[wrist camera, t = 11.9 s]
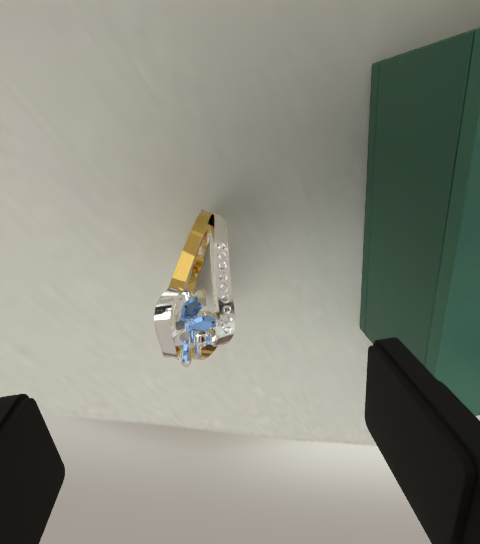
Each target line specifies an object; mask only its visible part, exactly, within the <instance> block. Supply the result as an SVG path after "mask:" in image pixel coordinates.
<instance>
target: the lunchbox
mask: <svg viewBox="0 0 480 544" xmlns="http://www.w3.org/2000/svg"><path fill="white" fill-rule="evenodd" d="M475 31H476V29H474V30H471V31H468V32H465V33H462V34H459V35H456V36H453V37H450V38H447V39H444V40H441V41H439V42H436V43H433V44H430V45H427V46H424V47H421V48H418V49H415V50H412V51H409V52H406V53H403V54H400V55H397V56H394V57H391V58H388V59H385V60H382V61H380V62H377V63H374V64H373V65H372V80H371V101H370V122H369V144H368V165H367V186H366V207H365V229H364V250H363V271H362V292H361V314H360V328H361V330H362V331H363V332H364V333H365V335H366V336H367V337H368V338H369V340H370V341H371V342H372V343H373V344H374V341H375V340H378V339H385V338H391V337H396V338H398V339H399V340H400V341H401V342H402V343H403V344H404V345H405V346H406V347H407V348H408V349H409V350H410V351H411V352H412V354H413V355H414V356H415V357H416V358H417V359H418V360H419V361H420V362H421V363H422V364H423V365H424V366H425V364H426V358H427V351H428V344H429V338H430V331H431V324H432V318H433V311H434V304H435V298H436V291H437V284H438V278H439V271H440V264H441V257H442V251H443V244H444V237H445V231H446V224H447V217H448V211H449V204H450V197H451V191H452V184H453V177H454V171H455V164H456V157H457V151H458V144H459V137H460V131H461V124H462V117H463V111H464V104H465V97H466V91H467V84H468V77H469V71H470V64H471V57H472V51H473V44H474V37H475Z"/></svg>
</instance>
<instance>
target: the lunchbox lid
mask: <svg viewBox="0 0 480 544" xmlns="http://www.w3.org/2000/svg"><path fill="white" fill-rule="evenodd" d="M425 367H426V368H427V369H428V371H429V372H430V373H431V374H432V375H433V376H434V377H435V378H436V379H437V380H439V381H441V382H442V383H443V384H445V385H446V386H447V387H448V388H449V389H450V390H451V391H452V393H453V394H454V395H455V396H456V397H457V398H458V399H459V400H460V401H461V402H462V403H463V404H464V405H465V406H466V407H467V408H468V409H469V410H470V411H471V412H472V413H473V414H474V416H478V415H480V28H478V29H476V31H475V37H474V44H473V51H472V57H471V64H470V71H469V77H468V84H467V91H466V97H465V104H464V111H463V117H462V124H461V131H460V137H459V144H458V151H457V157H456V164H455V171H454V177H453V184H452V191H451V197H450V204H449V211H448V217H447V224H446V231H445V237H444V244H443V251H442V257H441V264H440V271H439V278H438V284H437V291H436V298H435V304H434V311H433V318H432V324H431V331H430V338H429V344H428V351H427V358H426V364H425Z"/></svg>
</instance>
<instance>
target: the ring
mask: <svg viewBox="0 0 480 544" xmlns="http://www.w3.org/2000/svg"><path fill="white" fill-rule="evenodd" d="M209 240H210V261H211V275H212V285H213V293H214V300H215V308H216V312H215V311H214V313H212V312H210V311H201V308H202V306H206V290H199V291H197V293H195V294H194V289H195V284H196V280H197V276H198V272H199V270H201V268H202V265H203V262H204V258H205V257H204V254H205V251H206V248H207V246H208V243H209ZM175 303H176V305H175ZM174 306H175V310H174ZM173 311H174V315H173ZM154 322H155V329H156V334H157V337H158V340H159V343H160V346H161V349H162V352H163V355H164V357H165V358H171V359H177V360H179V356H180V353H181V364H182V365H183V366H185V367H188V366H189V365H190V363H191V359H197V360H203V359H206V358H207V357H209V356H210V355H211V354H212V353H213V351H214V350H215V349H216V348H217V346H219V345H224V344H226V343H228V342H229V341H230V340H231V338H232V336H233V334H234V329H235V313H234V304H233V296H232V287H231V276H230V264H229V251H228V238H227V227H226V220H225V218H224V217H223V216H220V215H218V214H215V213H211V212H208V211H205V210H201V212H200V214H199V215H198V217H197V219H196V221H195V223H194V226H193V228H192V230H191V232H190V234H189V237H188V239H187V241H186V244H185V246H184V249H183V251H182V254H181V256H180V259H179V261H178V264H177V267H176V269H175V272H174V275H173V277H172V280H171V283H170V286H169V288H168V290H166V291H165V292H164V293H163V294H162V295H161V297H160V298H159V300H158V303H157V305H156V309H155V315H154ZM213 326H215V331H214V330H213V329H212V327H213ZM181 350H182V352H181Z"/></svg>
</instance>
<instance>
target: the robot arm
mask: <svg viewBox="0 0 480 544" xmlns="http://www.w3.org/2000/svg"><path fill="white" fill-rule="evenodd" d="M365 421H366V425H367V428H368V430H369V432H370V433H371V435H372V437H373V439H374V441H375V442H376V444H377V446H378V448H379V450H380V451H381V453H382V455H383V457H384V458H385V460H386V462H387V464H388V466H389V467H390V469H391V471H392V473H393V475H394V476H395V478H396V480H397V482H398V484H399V485H400V487H401V489H402V491H403V493H404V494H405V496H406V498H407V500H408V501H409V503H410V505H411V507H412V509H413V510H414V512H415V514H416V516H417V518H418V520H419V521H420V523H421V525H422V527H423V528H424V530H425V532H426V534H427V535H428V537H429V539H430V541H431V543H432V544H480V421H479V420H478V419H477V418H476V417H475V416H474V414H473V413H472V412H471V411H470V410H469V409H468V408H467V407H466V406H465V405H464V404H463V403H462V402H461V401H460V400H459V399H458V398H457V397H456V396H455V395H454V394H453V393H452V391H451V390H450V389H449V388H448V387H447V386H446V385H445V384H443V383H442V382H441V381H439V380H437V379H436V378H435V377H434V376H433V375H432V374H431V373H430V372H429V371H428V369H427V368H426V367H425V366H424V365H423V364H422V363H421V362H420V361H419V360H418V359H417V358H416V357H415V356H414V355H413V354H412V352H411V351H410V350H409V349H408V348H407V347H406V346H405V345H404V344H403V343H402V342H401V341H400V340H399V339H398V338H396V337H391V338H385V339H378V340H375V341H374V344H373V346H370V347H369V348H368V363H367V382H366V401H365ZM64 476H65V467H64V464H63V462H62V460H61V458H60V455H59V453H58V451H57V448H56V446H55V444H54V442H53V439H52V437H51V435H50V433H49V430H48V428H47V426H46V424H45V421H44V419H43V417H42V415H41V412H40V410H39V408H38V406H37V403H36V401H35V400H34V399H33V398H29V397H28V396H27V395H26V394H19V395H12V396H6V397H1V398H0V544H39V542H40V539H41V537H42V534H43V532H44V529H45V527H46V524H47V522H48V519H49V516H50V514H51V511H52V508H53V506H54V504H55V501H56V499H57V496H58V493H59V491H60V488H61V485H62V483H63V480H64Z"/></svg>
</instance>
